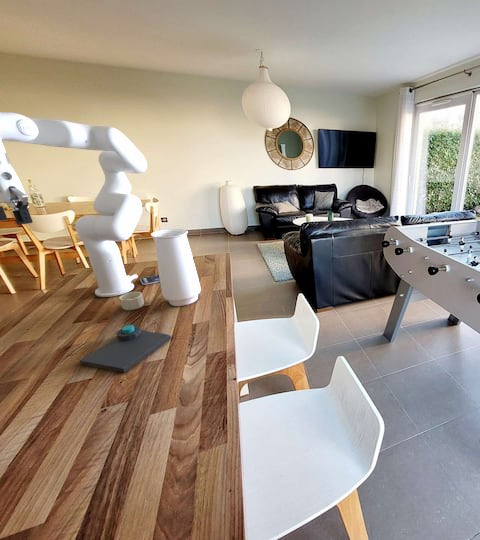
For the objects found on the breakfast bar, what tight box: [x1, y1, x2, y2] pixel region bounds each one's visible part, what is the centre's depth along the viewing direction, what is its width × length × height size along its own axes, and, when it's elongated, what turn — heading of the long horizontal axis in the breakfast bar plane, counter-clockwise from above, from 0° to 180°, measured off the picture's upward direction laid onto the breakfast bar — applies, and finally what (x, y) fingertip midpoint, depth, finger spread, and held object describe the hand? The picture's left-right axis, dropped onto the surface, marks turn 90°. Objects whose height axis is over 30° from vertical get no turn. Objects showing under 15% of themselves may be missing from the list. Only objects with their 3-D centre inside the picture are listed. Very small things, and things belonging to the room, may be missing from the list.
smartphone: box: [139, 274, 160, 286], centre depth 132 cm, size 8×1×15 cm
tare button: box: [121, 324, 135, 334], centre depth 90 cm, size 3×3×2 cm
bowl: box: [118, 291, 145, 311], centre depth 108 cm, size 7×7×4 cm
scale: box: [79, 324, 171, 373], centre depth 85 cm, size 16×14×3 cm
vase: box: [150, 228, 201, 307], centre depth 110 cm, size 13×13×28 cm
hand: (12, 222), depth 84 cm, fingers open, 9 cm apart
